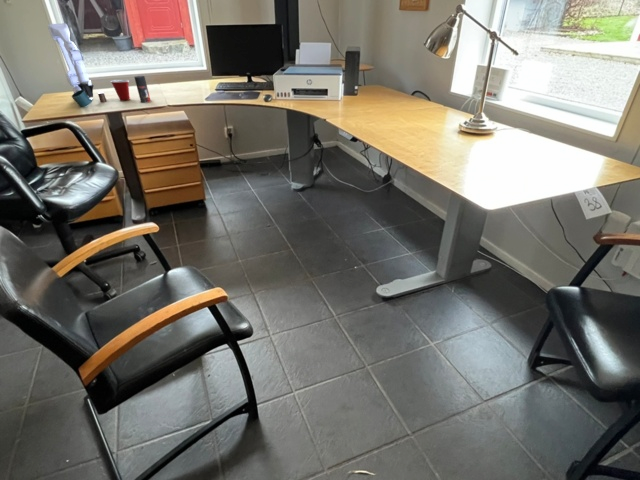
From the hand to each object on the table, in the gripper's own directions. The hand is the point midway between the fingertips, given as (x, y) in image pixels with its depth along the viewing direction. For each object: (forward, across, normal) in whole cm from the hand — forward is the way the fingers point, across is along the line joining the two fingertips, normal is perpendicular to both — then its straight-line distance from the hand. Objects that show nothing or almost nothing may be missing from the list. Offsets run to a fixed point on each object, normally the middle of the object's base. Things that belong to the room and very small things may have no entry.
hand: (89, 96), depth 237 cm
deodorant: (+6, +20, +25) cm, 32 cm away
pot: (+4, 0, -3) cm, 5 cm away
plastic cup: (+5, +3, +20) cm, 21 cm away
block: (+5, -4, +9) cm, 11 cm away
